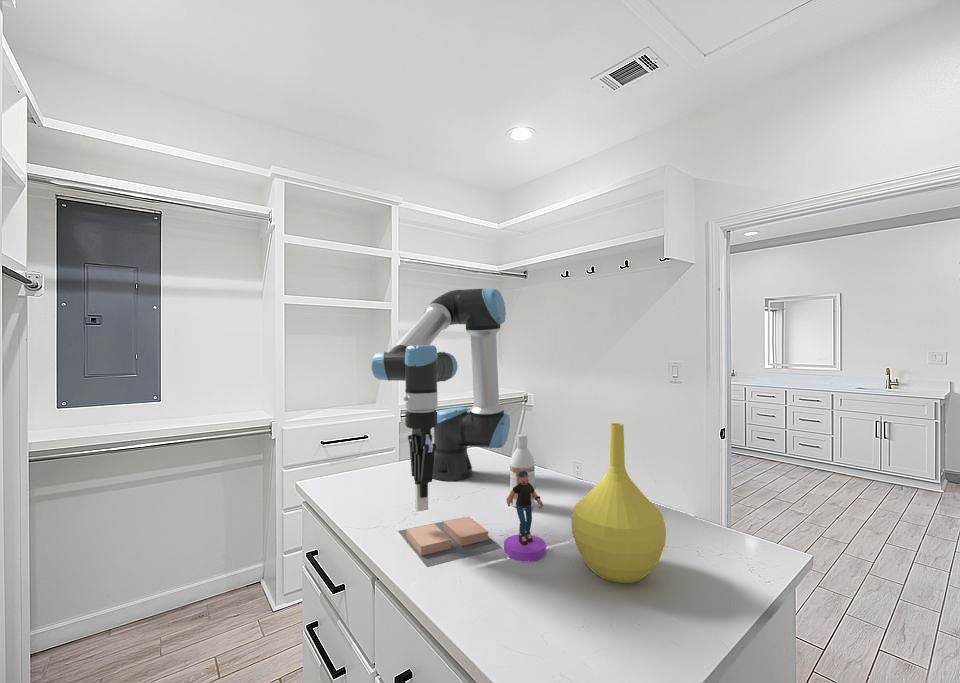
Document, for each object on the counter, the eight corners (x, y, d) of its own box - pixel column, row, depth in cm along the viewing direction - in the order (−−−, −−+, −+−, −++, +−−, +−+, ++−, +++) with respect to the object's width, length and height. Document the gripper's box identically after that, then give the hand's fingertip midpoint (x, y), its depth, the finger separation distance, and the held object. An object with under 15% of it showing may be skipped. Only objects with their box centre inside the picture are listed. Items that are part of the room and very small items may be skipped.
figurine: (515, 565, 94) (514, 479, 94) (497, 546, 102) (496, 467, 103) (553, 556, 97) (553, 473, 97) (533, 539, 106) (532, 463, 106)
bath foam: (506, 503, 130) (505, 434, 130) (527, 499, 133) (526, 432, 133) (517, 511, 124) (517, 438, 124) (539, 507, 126) (538, 436, 126)
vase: (656, 607, 79) (655, 437, 79) (558, 578, 88) (557, 427, 88) (673, 563, 94) (672, 421, 94) (588, 543, 104) (587, 414, 104)
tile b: (434, 523, 109) (450, 539, 100) (434, 532, 109) (450, 549, 100) (406, 529, 106) (421, 546, 97) (406, 538, 106) (421, 556, 97)
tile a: (469, 516, 113) (488, 531, 105) (469, 525, 113) (488, 540, 105) (443, 521, 110) (460, 537, 101) (443, 530, 110) (461, 546, 101)
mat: (464, 518, 118) (464, 517, 118) (502, 549, 101) (502, 547, 101) (397, 532, 110) (397, 530, 110) (427, 568, 92) (427, 566, 92)
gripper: (397, 407, 110) (398, 503, 110) (415, 415, 99) (415, 522, 99) (426, 405, 114) (426, 498, 114) (446, 412, 102) (447, 516, 102)
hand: (421, 509), depth 106 cm, fingers closed
